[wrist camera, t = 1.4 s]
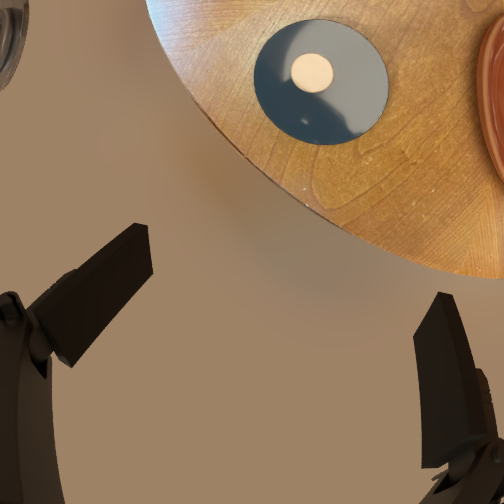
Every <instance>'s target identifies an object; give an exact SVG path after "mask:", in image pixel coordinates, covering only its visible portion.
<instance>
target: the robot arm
mask: <svg viewBox="0 0 504 504" xmlns="http://www.w3.org/2000/svg"><path fill="white" fill-rule="evenodd" d="M12 31H13V15H12V11H11V10H10V9H9V8H0V69H1V67H2V65H3V63H4V61H5V59H6V56H7V53H8V50H9V46H10V42H11V38H12ZM152 274H153V268H152V261H151V253H150V245H149V235H148V226H147V225H143V224H138V223H133V224H132V225H131V226H129V227H128V228H127V229H126V230H124V231H123V232H122V233H121V234H119V235H118V236H117V237H115V238H114V239H113V240H112V241H110V242H109V243H108V244H107V245H105V246H104V247H103V248H102V249H100V250H99V251H98V252H97V253H96V254H94V255H93V256H92V257H91V258H90V259H88V260H87V261H86V262H85V263H84V264H82V265H81V266H80V267H79V268H78V269H74V270H72V271H70V272H68V273H66V274H64V275H63V276H62V277H61V278H60V279H58V280H57V281H56V283H54V284H53V285H52V286H51V287H50V289H47V290H46V291H45V292H44V293H43V294H42V295H41V296H40V297H39V298H37V299H36V300H35V301H34V302H33V303H32V304H31V305H30V306H29V307H28V308H27V309H26V310H25V308H24V306H23V304H22V302H21V300H20V298H19V296H18V294H17V293H16V292H13V291H8V292H5V293H3V294H1V295H0V504H65V501H64V497H63V492H62V487H61V482H60V477H59V471H58V464H57V457H56V450H55V440H54V428H53V412H52V358H51V356H50V355H51V353H52V352H53V351H54V352H55V354H56V356H57V357H58V359H59V360H60V361H61V362H63V363H64V364H66V365H67V366H69V367H70V368H72V367H73V366H74V365H75V364H76V362H77V361H78V360H79V359H80V357H81V356H82V355H83V354H84V353H85V351H86V350H87V349H88V348H89V347H90V345H91V344H92V343H93V342H94V340H95V339H96V338H97V337H98V336H99V334H100V333H101V332H102V331H103V330H104V329H105V327H106V326H107V325H108V324H109V323H110V322H111V320H112V319H113V318H114V317H115V316H116V315H117V314H118V312H119V311H120V310H121V309H122V308H123V307H124V306H125V304H126V303H127V302H128V301H129V300H130V299H131V297H132V296H133V295H134V294H135V293H136V292H137V291H138V290H139V289H140V288H141V286H142V285H143V284H144V283H145V282H146V281H147V280H148V279H149V278H150V277H151V275H152ZM413 340H414V347H415V353H416V361H417V371H418V380H419V390H420V405H421V424H422V425H421V427H422V467H421V468H422V469H423V468H439V467H441V466H442V465H444V464H446V463H447V462H448V469H447V470H445V471H443V472H441V473H440V474H438V475H436V476H435V477H433V478H432V481H434V480H436V479H438V478H439V479H438V481H437V482H436V483H435V485H434V486H433V487H432V488H431V490H430V491H429V492H428V493H427V495H426V496H425V497H424V498H423V499H422V501H421V502H420V503H419V504H500V501H501V498H502V497H504V440H503V439H502V438H499V437H498V432H497V425H496V419H495V414H494V408H493V403H491V401H492V398H491V394H490V393H489V392H490V389H489V385H488V380H487V378H486V377H485V375H484V373H483V371H482V370H481V369H478V368H475V364H474V360H473V356H472V353H471V349H470V346H469V343H468V339H467V336H466V333H465V330H464V326H463V324H462V320H461V317H460V315H459V312H458V309H457V306H456V303H455V301H454V298H453V295H451V294H446V293H442V292H438V293H437V295H436V297H435V299H434V301H433V303H432V305H431V306H430V309H429V310H428V312H427V314H426V315H425V317H424V319H423V321H422V322H421V324H420V326H419V327H418V329H417V331H416V332H415V334H414V336H413ZM502 504H504V503H502Z"/></svg>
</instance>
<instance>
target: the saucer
mask: <svg viewBox="0 0 504 504" xmlns="http://www.w3.org/2000/svg"><path fill="white" fill-rule="evenodd" d="M477 100H478V109H479V116H480V121H481V126H482V131H483V135H484V138H485V142H486V145H487V148H488V151H489V154H490V157H491V159H492V162H493V164H494V166H495V169H496V171H497V173H498V175H499V176H500V178H501V180H502V181H503V183H504V14H503V15H501V16H500V17H498V18H497V19H496V20H495V21H494V22H493V23H492V24H491V26H490V27H489V29H488V30H487V32H486V34H485V36H484V39H483V41H482V44H481V48H480V52H479V57H478V64H477Z"/></svg>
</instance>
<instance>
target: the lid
mask: <svg viewBox="0 0 504 504" xmlns="http://www.w3.org/2000/svg"><path fill="white" fill-rule="evenodd" d="M254 87H255V92H256V95H257V98H258V101H259V103H260V105H261V108H262V109H263V111H264V112H265V114H266V115H267V117H268V118H269V119H270V120H271V121H272V122H273V123H274V124H275V125H276V126H277V127H278V128H279V129H281V130H282V131H283V132H285V133H286V134H288V135H290V136H291V137H294V138H296V139H298V140H300V141H304V142H307V143H311V144H317V145H335V144H341V143H345V142H348V141H351V140H353V139H356V138H358V137H360V136H361V135H363V134H364V133H366V132H367V131H368V130H369V129H371V128H372V127H373V126H374V124H375V123H376V122H377V121H378V119H379V118H380V116H381V115H382V113H383V111H384V109H385V106H386V103H387V100H388V94H389V79H388V73H387V70H386V66H385V64H384V62H383V59H382V57H381V56H380V54H379V52H378V51H377V49H376V48H375V47H374V46H373V44H372V43H371V42H370V41H369V40H368V39H367V38H365V37H364V36H363V35H362V34H360V33H359V32H358V31H356V30H354V29H352V28H351V27H348V26H346V25H344V24H341V23H338V22H334V21H329V20H319V19H313V20H304V21H300V22H296V23H293V24H291V25H288V26H286V27H284V28H283V29H281V30H279V31H278V32H277V33H275V34H274V35H273V36H272V37H271V38H270V39H269V40H268V41H267V42H266V44H265V45H264V46H263V48H262V50H261V51H260V53H259V55H258V58H257V61H256V65H255V69H254Z"/></svg>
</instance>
